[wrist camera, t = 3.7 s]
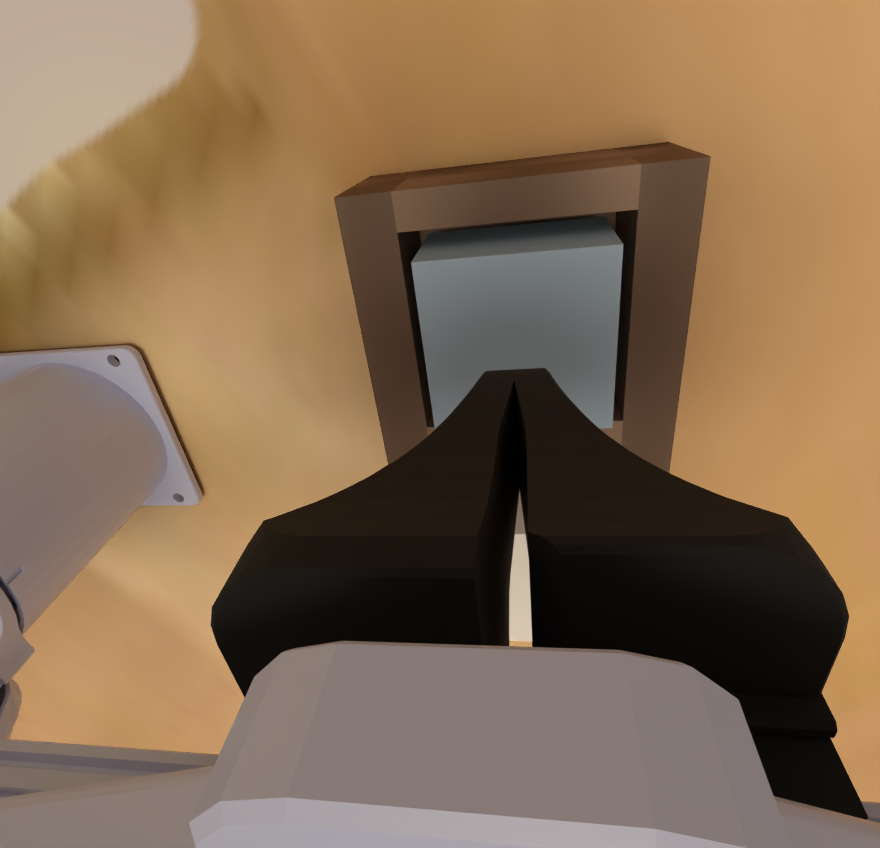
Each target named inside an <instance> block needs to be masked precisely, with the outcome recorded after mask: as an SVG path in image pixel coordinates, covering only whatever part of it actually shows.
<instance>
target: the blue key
mask: <svg viewBox="0 0 880 848" xmlns="http://www.w3.org/2000/svg"><path fill="white" fill-rule="evenodd" d="M622 259H623V243H622V241H621V240H620V239H619V237H618V236H617V234H616V233H615V231H614V230H613V228H612V227H611V225H610V224H609V222H608V221H607V220H606V218H605V217H594V218H584V219H573V220H563V221H552V222H542V223H531V224H521V225H510V226H500V227H489V228H479V229H468V230H458V231H447V232H437V233H429V234H428V236H427V238H426V239H425V241H424V243H423V244H422V246H421V247H420V249H419V251H418V252H417V254H416V255H415V257H414V259H413V260H412V262H411V266H412V273H413V280H414V287H415V294H416V301H417V308H418V315H419V322H420V329H421V336H422V343H423V350H424V357H425V364H426V371H427V378H428V385H429V392H430V399H431V406H432V413H433V420H434V427H435V429H436V428H437V427H438V426H439V425H440V424H441V423H442V422H443V421H444V420H445V419H446V418H447V417H448V416H449V415H450V414H451V413H452V411H453V410H454V409H455V408H456V407H457V406H458V404H459V403H460V402H461V401H462V400H463V399H464V397H465V396H466V395H467V394H468V392H469V391H470V390H471V389H472V387H473V386H474V385H475V383H476V382H477V381H478V379H479V378H480V377H481V375H482V374H483V373H484V372H485V371H493V370H513V369H532V368H546V369H547V370H548V371H549V372H550V373H551V375H552V377H553V378H554V380H555V381H556V383H557V384H558V385H559V387H560V388H561V389H562V390H563V392H564V393H565V394H566V395H567V396H568V398H569V399H570V400H571V401H572V402H573V403H574V404H575V405H576V406H577V407H578V409H579V410H580V411H581V412H582V413H583V414H584V415H585V416H586V417H587V418H588V419H589V420H590V421H591V422H593V423H594V424H595V425H596V426H597V427H598V428H599V429H600V428H612V427H613V410H614V393H615V376H616V360H617V343H618V326H619V309H620V293H621V276H622Z"/></svg>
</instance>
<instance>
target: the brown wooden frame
mask: <svg viewBox="0 0 880 848" xmlns="http://www.w3.org/2000/svg"><path fill="white" fill-rule="evenodd" d="M709 164H710V156H708V155H705V154H702V153H699V152H696V151H693V150H690V149H687V148H684V147H681V146H678V145H676V144H673V143H670V142H666V143H657V144H648V145H640V146H631V147H622V148H613V149H605V150H596V151H587V152H579V153H570V154H561V155H553V156H544V157H535V158H527V159H518V160H509V161H500V162H492V163H483V164H474V165H466V166H457V167H448V168H440V169H431V170H422V171H414V172H405V173H396V174H388V175H379V176H370V177H369V178H367V179H365V180H363V181H362V182H360V183H358V184H357V185H355V186H353V187H351V188H350V189H348V190H346V191H345V192H343V193H341V194H339V195H338V196H336V197H334V200H335V205H336V210H337V215H338V220H339V225H340V230H341V235H342V240H343V245H344V249H345V254H346V259H347V264H348V269H349V274H350V279H351V284H352V289H353V293H354V298H355V303H356V308H357V313H358V318H359V323H360V328H361V333H362V338H363V342H364V347H365V352H366V357H367V362H368V367H369V372H370V377H371V382H372V386H373V391H374V396H375V401H376V406H377V411H378V416H379V421H380V426H381V431H382V435H383V440H384V445H385V450H386V455H387V460H388V465H389V464H390V463H392V462H394V461H395V460H397V459H399V458H400V457H401V456H403V455H404V454H406V453H407V452H408V451H410V450H411V449H412V448H414V447H415V446H416V445H418V444H419V443H420V442H421V441H423V440H424V439H425V438H426V437H427V436H429V435H430V434H431V433H432V432H433V431H434V430H435V427H434V420H433V413H432V406H431V399H430V392H429V385H428V378H427V371H426V364H425V357H424V350H423V343H422V336H421V329H420V322H419V315H418V308H417V301H416V294H415V287H414V280H413V273H412V266H411V262H412V260H413V259H414V257H415V255H416V254H417V252H418V251H419V249H420V247H421V246H422V244H423V243H424V241H425V239H426V238H427V236H428V234H429V233H437V232H447V231H458V230H468V229H479V228H489V227H500V226H510V225H521V224H531V223H542V222H552V221H563V220H573V219H584V218H594V217H605V218H606V220H607V221H608V222H609V224H610V225H611V227H612V228H613V230H614V231H615V233H616V234H617V236H618V237H619V239H620V240H621V241H622V243H623V259H622V276H621V293H620V309H619V326H618V343H617V360H616V376H615V393H614V410H613V427H612V428H600V430H601V431H603V432H604V433H605V434H606V435H608V436H609V437H610V438H612V439H613V440H615V441H616V442H618V443H619V444H620V445H622V446H623V447H625V448H626V449H628V450H629V451H631V452H632V453H634V454H636V455H637V456H639V457H640V458H642V459H644V460H646V461H647V462H649V463H651V464H653V465H655V466H657V467H659V468H660V469H662V470H664V471H666V472H668V473H669V469H670V462H671V454H672V446H673V439H674V431H675V423H676V416H677V408H678V401H679V393H680V385H681V378H682V370H683V362H684V355H685V347H686V339H687V332H688V324H689V317H690V309H691V301H692V294H693V286H694V278H695V271H696V263H697V255H698V248H699V240H700V232H701V225H702V217H703V210H704V202H705V194H706V187H707V179H708V171H709Z"/></svg>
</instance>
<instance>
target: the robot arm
mask: <svg viewBox="0 0 880 848" xmlns="http://www.w3.org/2000/svg"><path fill="white" fill-rule="evenodd" d="M114 356H116V357H117V358H118V359H119V360H120V362H118V361H117V360H116V359H115V358H114ZM519 489H520V496H521V504H522V511H523V519H524V526H525V534H526V541H527V549H528V556H529V575H530V599H531V622H532V646H533V647H515V646H509V590H510V574H511V564H512V555H513V546H514V536H515V527H516V518H517V508H518V499H519ZM179 494H180V495H179ZM181 495H182V496H181ZM201 499H202V492H201V490H200V488H199V485H198V483H197V481H196V479H195V476H194V474H193V472H192V470H191V467H190V465H189V463H188V460H187V458H186V456H185V454H184V451H183V449H182V447H181V445H180V442H179V440H178V438H177V436H176V433H175V431H174V429H173V427H172V424H171V422H170V420H169V417H168V415H167V413H166V411H165V408H164V406H163V404H162V402H161V399H160V397H159V395H158V393H157V390H156V388H155V386H154V383H153V381H152V379H151V377H150V374H149V372H148V370H147V368H146V365H145V363H144V361H143V359H142V356H141V355H140V353H139V352H138V351H137V350H136V349H135V348H134V347H131V346H128V345H118V346H103V347H88V348H73V349H58V350H42V351H27V352H12V353H0V848H880V803H876V802H862V801H860V799H859V797H858V794H857V792H856V790H855V788H854V786H853V784H852V782H851V780H850V778H849V776H848V774H847V772H846V770H845V768H844V766H843V763H842V761H841V759H840V757H839V755H838V753H837V751H836V749H835V747H834V745H833V743H832V741H831V739H830V738H834V737H835V735H836V733H837V725H836V721H835V719H834V717H833V715H832V713H831V711H830V709H829V707H828V705H827V703H826V701H825V699H824V697H823V695H822V693H821V692H822V690H823V688H824V685H825V683H826V681H827V678H828V676H829V674H830V671H831V669H832V667H833V664H834V662H835V660H836V657H837V655H838V653H839V650H840V648H841V646H842V643H843V641H844V638H845V634H846V629H847V624H848V619H849V614H848V611H847V607H846V603H845V600H844V596H843V594H842V592H841V590H840V589H839V587H838V586H837V584H836V583H835V581H834V580H833V578H832V576H831V575H830V573H829V572H828V570H827V569H826V567H825V565H824V564H823V562H822V561H821V560H820V558H819V557H818V555H817V554H816V552H815V551H814V550H813V548H812V547H811V545H810V544H809V543H808V542H807V541H806V539H805V538H804V537H803V536H802V534H801V533H800V532H799V531H798V529H797V528H796V527H795V526H794V524H793V523H792V522H791V520H790V519H789V518H788V517H785V516H782V515H779V514H776V513H773V512H770V511H767V510H763V509H760V508H757V507H754V506H751V505H748V504H745V503H742V502H738V501H735V500H732V499H729V498H726V497H723V496H721V495H718V494H716V493H713V492H711V491H708V490H706V489H704V488H701V487H699V486H696V485H694V484H691V483H689V482H687V481H685V480H683V479H680V478H678V477H676V476H674V475H672V474H670V473H668V472H666V471H664V470H662V469H660V468H659V467H657V466H655V465H653V464H651V463H649V462H647V461H646V460H644V459H642V458H640V457H639V456H637V455H636V454H634V453H632V452H631V451H629V450H628V449H626V448H625V447H623V446H622V445H620V444H619V443H618V442H616V441H615V440H613V439H612V438H610V437H609V436H608V435H606V434H605V433H604V432H603V431H601V430H600V429H599V428H598V427H597V426H596V425H595V424H594V423H593V422H591V421H590V420H589V419H588V418H587V417H586V416H585V415H584V414H583V413H582V412H581V411H580V410H579V409H578V407H577V406H576V405H575V404H574V403H573V402H572V401H571V400H570V399H569V398H568V396H567V395H566V394H565V393H564V392H563V390H562V389H561V388H560V387H559V385H558V384H557V383H556V381H555V380H554V378H553V377H552V375H551V373H550V372H549V371H548V370H547V369H546V368H532V369H513V370H493V371H485V372H484V373H483V374H482V375H481V377H480V378H479V379H478V381H477V382H476V383H475V385H474V386H473V387H472V389H471V390H470V391H469V392H468V394H467V395H466V396H465V397H464V399H463V400H462V401H461V402H460V403H459V404H458V406H457V407H456V408H455V409H454V410H453V411H452V413H451V414H450V415H449V416H448V417H447V418H446V419H445V420H444V421H443V422H442V423H441V424H440V425H439V426H438V427H437V428H436V429H435V430H434V431H433V432H432V433H431V434H430V435H429V436H427V437H426V438H425V439H424V440H423V441H421V442H420V443H419V444H418V445H416V446H415V447H414V448H412V449H411V450H410V451H408V452H407V453H406V454H404V455H403V456H401V457H400V458H399V459H397V460H395V461H394V462H392V463H390V464H389V465H387V466H386V467H384V468H382V469H381V470H379V471H378V472H376V473H374V474H373V475H371V476H369V477H368V478H366V479H364V480H362V481H360V482H358V483H356V484H354V485H352V486H350V487H348V488H346V489H344V490H342V491H340V492H338V493H335V494H333V495H331V496H329V497H327V498H324V499H322V500H320V501H317V502H315V503H312V504H309V505H307V506H304V507H301V508H298V509H296V510H293V511H290V512H287V513H285V514H282V515H279V516H277V517H274V518H271V519H267V520H264V521H263V523H262V524H261V526H260V527H259V528H258V530H257V531H256V533H255V534H254V536H253V538H252V539H251V541H250V542H249V544H248V545H247V547H246V549H245V550H244V552H243V554H242V556H241V557H240V559H239V561H238V562H237V564H236V566H235V568H234V569H233V571H232V573H231V575H230V576H229V578H228V580H227V582H226V583H225V585H224V587H223V589H222V590H221V592H220V594H219V596H218V598H217V599H216V601H215V603H214V605H213V606H212V616H211V627H212V630H213V633H214V636H215V639H216V642H217V645H218V647H219V649H220V651H221V653H222V655H223V657H224V658H225V660H226V662H227V664H228V666H229V668H230V670H231V672H232V674H233V676H234V678H235V680H236V682H237V684H238V685H239V687H240V689H241V691H242V693H243V695H244V697H245V698H244V701H243V703H242V705H241V707H240V710H239V712H238V714H237V716H236V719H235V721H234V723H233V725H232V727H231V730H230V732H229V734H228V736H227V739H226V741H225V743H224V745H223V748H222V750H221V752H220V754H219V755H217V754H204V753H190V752H176V751H162V750H149V749H135V748H121V747H108V746H94V745H80V744H66V743H53V742H39V741H25V740H11V739H10V736H11V733H12V730H13V726H14V724H15V722H16V719H17V717H18V714H19V710H20V705H21V690H20V688H19V685H18V684H17V683H16V682H15V681H14V680H13V679H11V678H12V677H13V676H14V675H15V674H16V673H17V671H18V670H19V669H20V668H21V667H22V666H23V664H24V663H25V662H26V661H27V660H28V659H29V658H30V656H31V655H32V654H33V653H34V652H35V650H34V648H33V647H32V646H31V645H30V644H29V643H28V642H27V640H26V639H25V638H24V637H23V634H24V633H25V632H26V631H27V630H28V629H29V628H30V627H31V625H32V624H33V623H34V622H35V621H36V620H37V619H38V618H39V617H40V616H41V614H42V613H43V612H44V611H45V610H46V609H47V608H48V607H49V606H50V605H51V603H52V602H53V601H54V600H55V599H56V598H57V597H58V596H59V595H60V594H61V592H62V591H63V590H64V589H65V588H66V587H67V586H68V585H69V584H70V583H71V581H72V580H73V579H74V578H75V577H76V576H77V575H78V574H79V573H80V572H81V570H82V569H83V568H84V567H85V566H86V565H87V564H88V563H89V562H90V561H91V559H92V558H93V557H94V556H95V555H96V554H97V553H98V552H99V551H100V550H101V548H102V547H103V546H104V545H105V544H106V543H107V542H108V541H109V540H110V539H111V537H112V536H113V535H114V534H115V533H116V532H117V531H118V530H119V529H120V528H121V526H122V525H123V524H124V523H125V522H126V521H127V520H128V519H129V518H130V517H131V515H132V514H133V513H134V512H135V511H136V510H137V509H138V508H139V507H140V506H174V505H196V504H197V503H199V501H200V500H201Z"/></svg>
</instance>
